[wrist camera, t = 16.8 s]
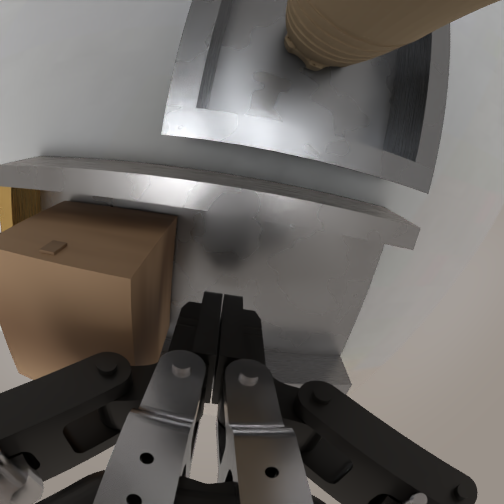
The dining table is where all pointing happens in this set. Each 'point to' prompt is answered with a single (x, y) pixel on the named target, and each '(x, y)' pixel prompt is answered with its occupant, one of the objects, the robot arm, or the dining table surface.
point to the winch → (308, 94)
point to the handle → (364, 27)
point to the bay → (239, 247)
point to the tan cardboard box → (86, 285)
